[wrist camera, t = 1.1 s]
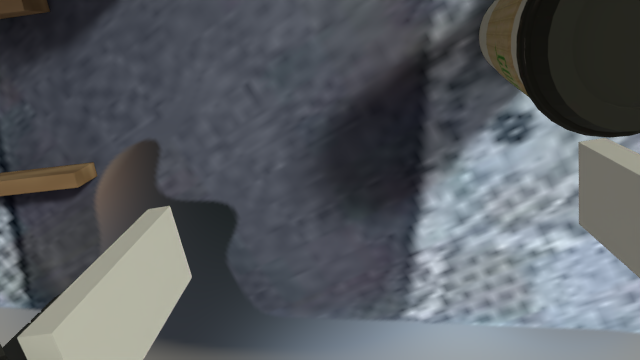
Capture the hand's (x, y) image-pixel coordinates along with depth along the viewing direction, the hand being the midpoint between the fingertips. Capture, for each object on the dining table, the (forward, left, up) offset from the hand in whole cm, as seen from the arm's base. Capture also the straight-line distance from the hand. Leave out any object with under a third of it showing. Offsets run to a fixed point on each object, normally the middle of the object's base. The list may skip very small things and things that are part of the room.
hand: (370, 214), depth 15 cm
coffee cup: (-4, +13, -23) cm, 26 cm away
